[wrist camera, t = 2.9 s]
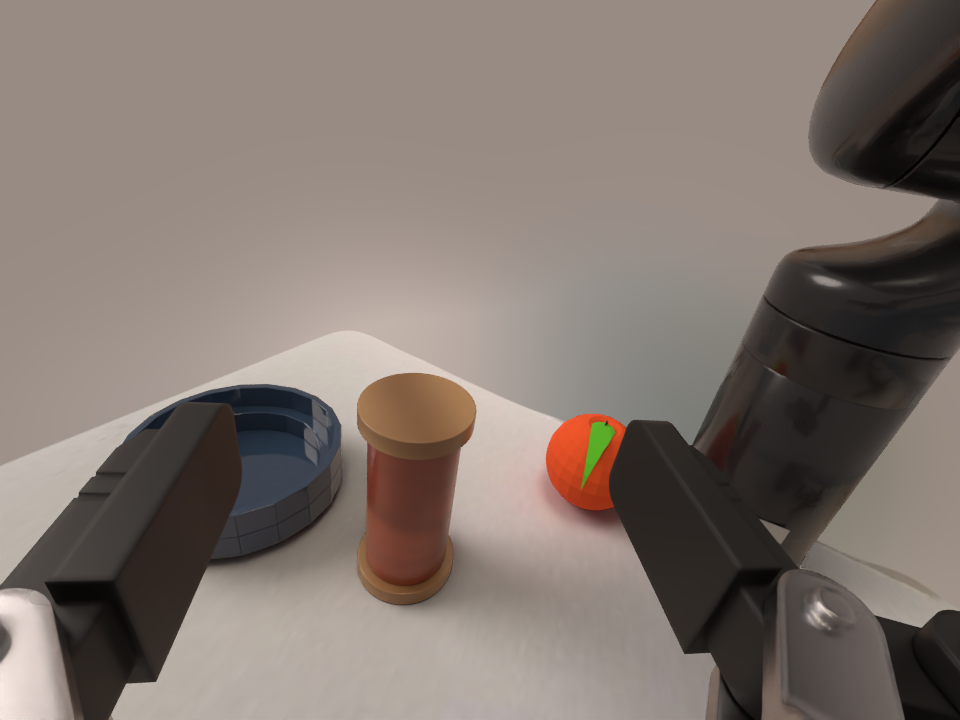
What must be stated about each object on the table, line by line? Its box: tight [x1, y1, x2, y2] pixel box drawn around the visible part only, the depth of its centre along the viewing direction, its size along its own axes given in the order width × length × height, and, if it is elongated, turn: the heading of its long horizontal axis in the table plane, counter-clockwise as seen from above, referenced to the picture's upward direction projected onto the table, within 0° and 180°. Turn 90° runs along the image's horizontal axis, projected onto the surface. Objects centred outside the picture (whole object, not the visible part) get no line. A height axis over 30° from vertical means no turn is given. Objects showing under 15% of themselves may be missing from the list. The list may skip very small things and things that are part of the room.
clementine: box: [546, 414, 626, 510], centre depth 33 cm, size 8×7×7 cm
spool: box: [357, 373, 476, 605], centre depth 25 cm, size 6×6×12 cm
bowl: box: [123, 384, 342, 560], centre depth 31 cm, size 13×13×4 cm
